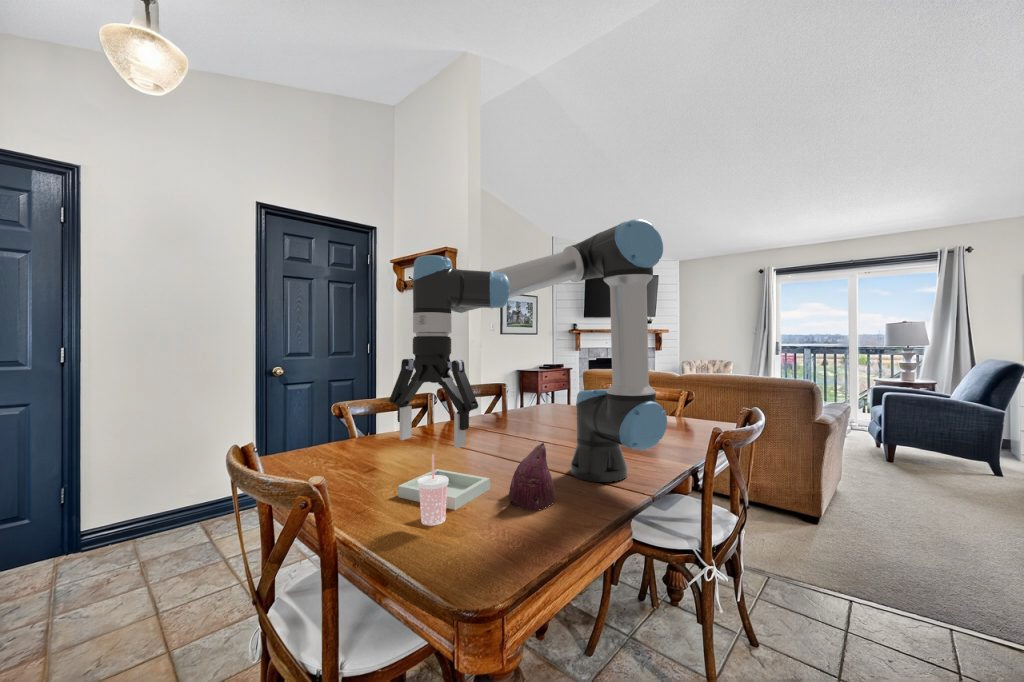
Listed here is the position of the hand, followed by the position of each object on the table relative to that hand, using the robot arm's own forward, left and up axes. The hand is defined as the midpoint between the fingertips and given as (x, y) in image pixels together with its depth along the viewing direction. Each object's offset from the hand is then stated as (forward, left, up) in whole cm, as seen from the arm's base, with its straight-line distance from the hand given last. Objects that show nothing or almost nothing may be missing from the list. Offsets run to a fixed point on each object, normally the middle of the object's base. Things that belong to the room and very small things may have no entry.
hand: (431, 442), depth 82 cm
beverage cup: (0, 0, -17) cm, 17 cm away
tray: (+7, -13, -16) cm, 22 cm away
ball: (+11, -16, -15) cm, 25 cm away
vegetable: (-12, -20, -17) cm, 29 cm away
